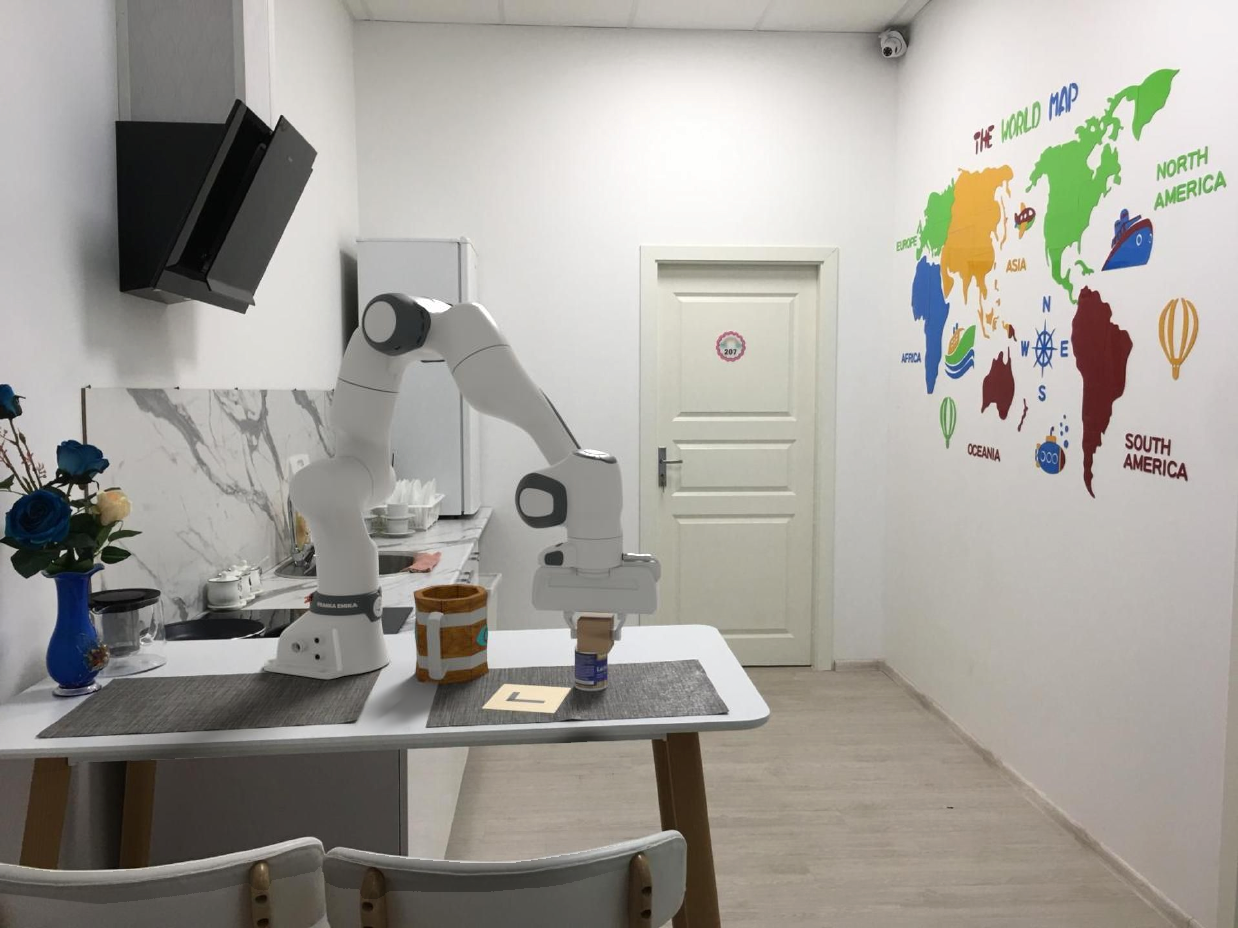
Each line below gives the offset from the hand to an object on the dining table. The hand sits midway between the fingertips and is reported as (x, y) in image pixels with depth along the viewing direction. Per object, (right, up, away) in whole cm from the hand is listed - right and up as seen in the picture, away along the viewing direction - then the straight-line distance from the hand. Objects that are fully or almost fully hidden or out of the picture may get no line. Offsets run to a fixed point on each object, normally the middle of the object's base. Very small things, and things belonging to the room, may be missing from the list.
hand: (595, 638), depth 144 cm
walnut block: (0, -2, 0) cm, 2 cm away
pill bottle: (-1, -11, +12) cm, 17 cm away
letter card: (-11, -11, +6) cm, 17 cm away
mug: (-27, -11, +17) cm, 33 cm away
